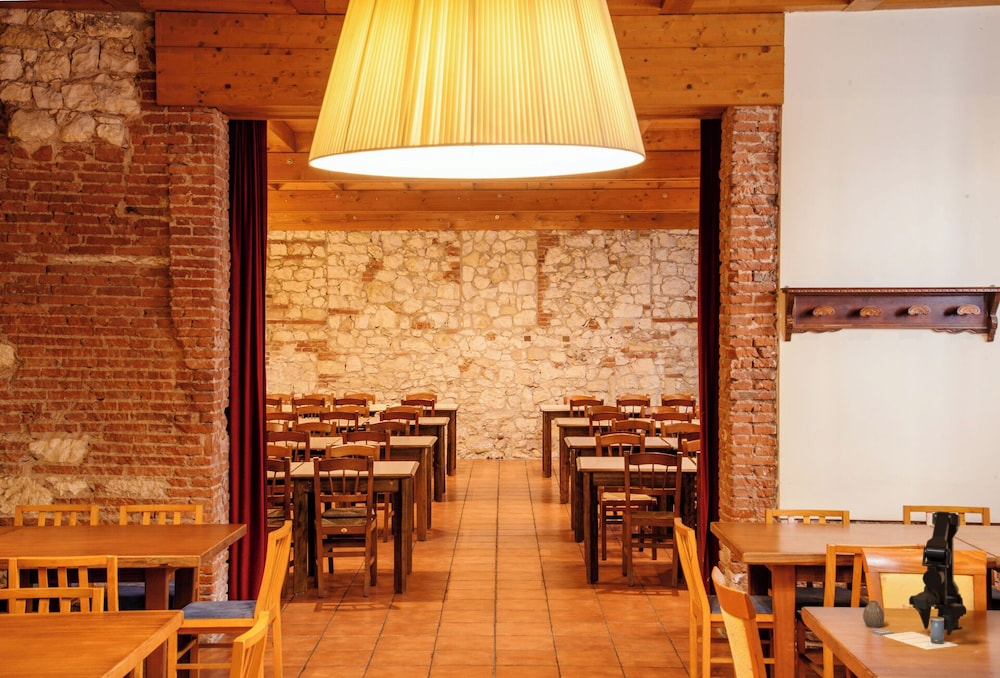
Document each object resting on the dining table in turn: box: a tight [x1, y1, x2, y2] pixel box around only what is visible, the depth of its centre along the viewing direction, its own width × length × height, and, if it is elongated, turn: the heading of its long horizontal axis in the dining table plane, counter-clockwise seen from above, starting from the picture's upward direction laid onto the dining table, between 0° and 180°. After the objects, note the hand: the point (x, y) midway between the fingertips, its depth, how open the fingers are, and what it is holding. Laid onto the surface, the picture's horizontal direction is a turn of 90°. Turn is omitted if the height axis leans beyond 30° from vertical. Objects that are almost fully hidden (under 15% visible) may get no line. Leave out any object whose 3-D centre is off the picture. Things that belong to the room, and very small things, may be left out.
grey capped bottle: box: [929, 615, 945, 644], centre depth 337 cm, size 4×4×8 cm
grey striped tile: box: [869, 628, 895, 636], centre depth 350 cm, size 6×5×1 cm
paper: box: [882, 631, 959, 651], centre depth 340 cm, size 13×19×1 cm
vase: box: [862, 600, 885, 629], centre depth 360 cm, size 7×7×9 cm
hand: (937, 631), depth 337 cm, fingers open, 9 cm apart
